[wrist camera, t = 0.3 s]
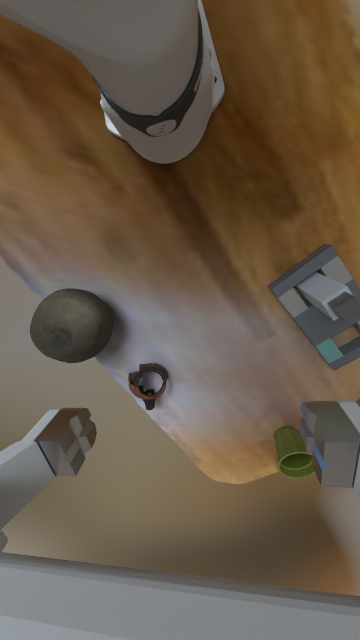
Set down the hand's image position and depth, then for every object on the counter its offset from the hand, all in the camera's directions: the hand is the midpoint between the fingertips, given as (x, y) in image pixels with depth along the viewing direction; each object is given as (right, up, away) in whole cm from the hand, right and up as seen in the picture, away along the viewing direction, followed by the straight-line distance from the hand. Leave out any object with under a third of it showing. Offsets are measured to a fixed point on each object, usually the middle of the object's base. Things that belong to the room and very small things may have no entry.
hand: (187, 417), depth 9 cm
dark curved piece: (-8, -11, +48) cm, 50 cm away
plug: (+25, +11, +36) cm, 45 cm away
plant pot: (+28, -27, +52) cm, 65 cm away
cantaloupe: (-20, +6, +42) cm, 47 cm away
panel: (+30, +6, +37) cm, 48 cm away
